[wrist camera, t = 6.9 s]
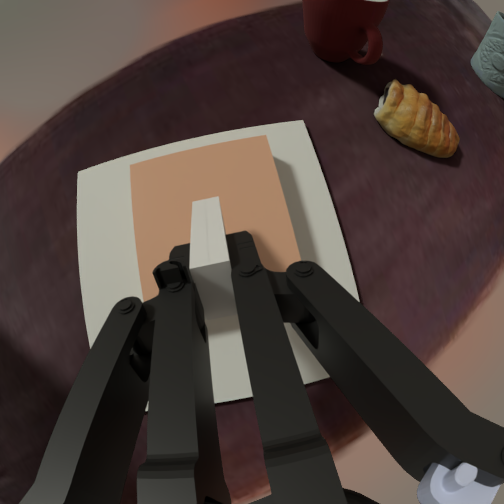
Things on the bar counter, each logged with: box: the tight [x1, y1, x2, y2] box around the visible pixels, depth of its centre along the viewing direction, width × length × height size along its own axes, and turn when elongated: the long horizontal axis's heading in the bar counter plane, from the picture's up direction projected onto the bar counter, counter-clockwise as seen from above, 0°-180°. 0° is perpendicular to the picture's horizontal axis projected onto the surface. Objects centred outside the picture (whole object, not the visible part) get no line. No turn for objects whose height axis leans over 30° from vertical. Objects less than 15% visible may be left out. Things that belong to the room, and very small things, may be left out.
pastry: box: [374, 80, 459, 158], centre depth 22 cm, size 9×7×4 cm
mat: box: [77, 120, 360, 411], centre depth 21 cm, size 20×20×1 cm
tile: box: [130, 135, 301, 302], centre depth 19 cm, size 10×2×11 cm
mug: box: [302, 0, 390, 65], centre depth 21 cm, size 11×8×10 cm
